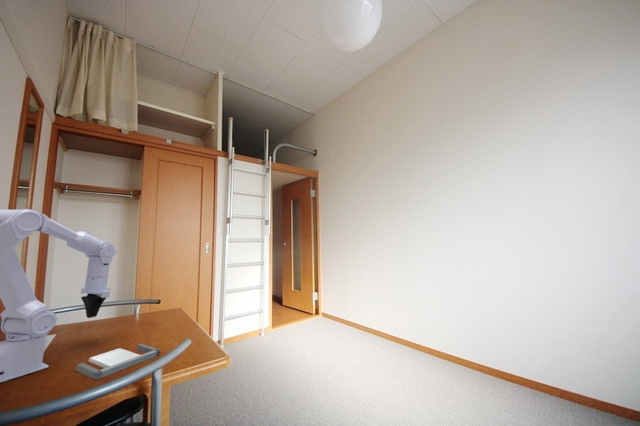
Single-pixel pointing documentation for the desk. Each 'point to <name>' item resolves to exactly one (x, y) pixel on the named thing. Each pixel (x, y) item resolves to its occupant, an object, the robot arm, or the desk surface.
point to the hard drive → (112, 357)
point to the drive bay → (98, 374)
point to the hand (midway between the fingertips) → (91, 317)
